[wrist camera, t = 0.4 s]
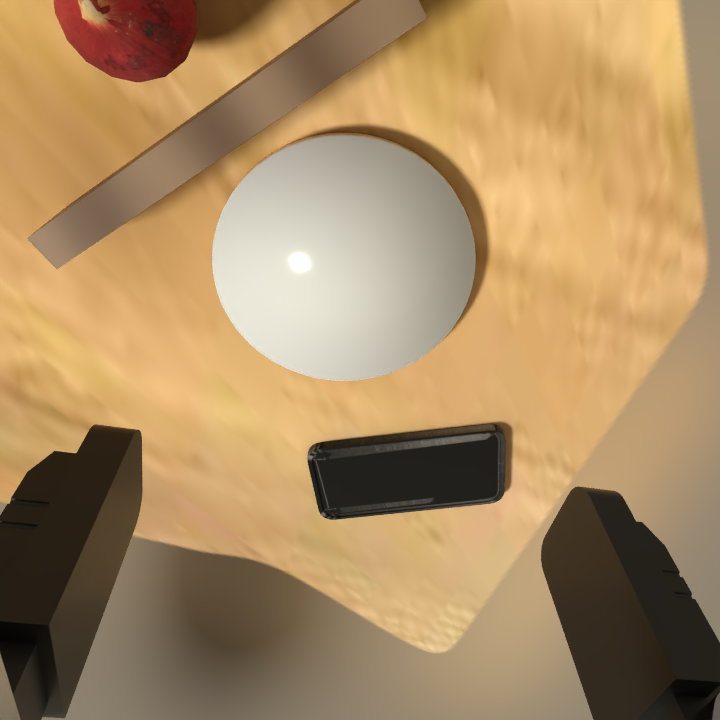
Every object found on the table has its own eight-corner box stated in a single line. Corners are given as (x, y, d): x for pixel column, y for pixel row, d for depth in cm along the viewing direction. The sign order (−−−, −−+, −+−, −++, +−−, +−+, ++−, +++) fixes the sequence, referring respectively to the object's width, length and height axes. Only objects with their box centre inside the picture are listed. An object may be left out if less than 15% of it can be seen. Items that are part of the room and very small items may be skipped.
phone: (305, 450, 43) (505, 429, 43) (305, 440, 44) (502, 419, 44) (321, 521, 48) (504, 503, 47) (322, 511, 49) (500, 493, 48)
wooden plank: (91, 234, 35) (57, 269, 30) (66, 206, 34) (26, 238, 30) (414, 13, 29) (426, 17, 25) (395, -29, 28) (404, -31, 24)
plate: (182, 153, 32) (178, 157, 31) (469, 113, 32) (473, 116, 31) (248, 385, 41) (246, 393, 40) (474, 358, 40) (477, 366, 39)
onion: (230, -19, 28) (194, -20, 21) (185, 93, 31) (141, 123, 24) (111, -97, 26) (32, -125, 20) (75, 29, 29) (-6, 42, 22)
